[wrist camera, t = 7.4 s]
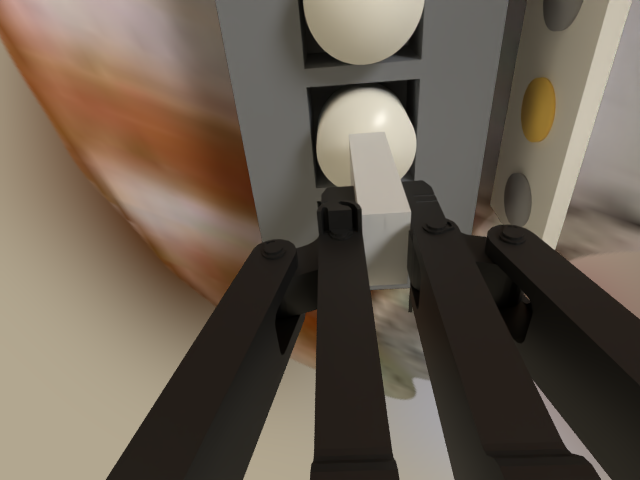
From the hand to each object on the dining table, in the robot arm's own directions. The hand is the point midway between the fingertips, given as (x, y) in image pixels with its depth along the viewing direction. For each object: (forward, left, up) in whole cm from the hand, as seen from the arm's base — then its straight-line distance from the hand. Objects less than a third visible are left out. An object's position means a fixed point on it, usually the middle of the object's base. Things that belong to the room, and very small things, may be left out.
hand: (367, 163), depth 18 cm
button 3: (0, 0, -4) cm, 4 cm away
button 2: (-6, 0, -4) cm, 7 cm away
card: (-3, +9, -7) cm, 12 cm away
